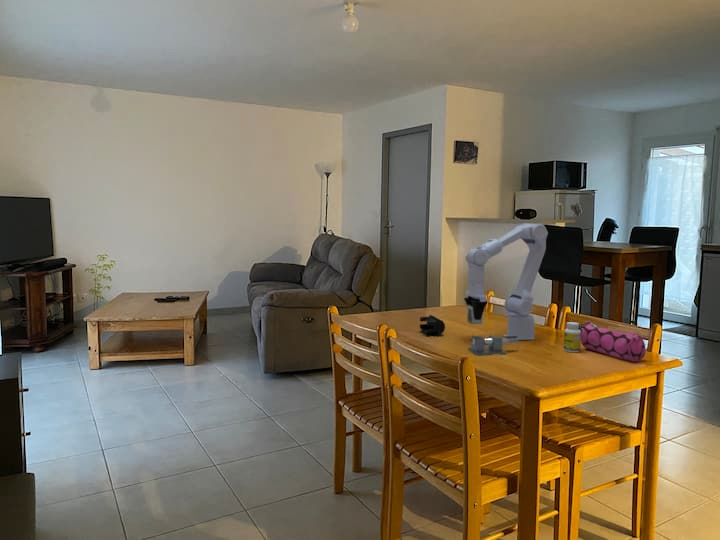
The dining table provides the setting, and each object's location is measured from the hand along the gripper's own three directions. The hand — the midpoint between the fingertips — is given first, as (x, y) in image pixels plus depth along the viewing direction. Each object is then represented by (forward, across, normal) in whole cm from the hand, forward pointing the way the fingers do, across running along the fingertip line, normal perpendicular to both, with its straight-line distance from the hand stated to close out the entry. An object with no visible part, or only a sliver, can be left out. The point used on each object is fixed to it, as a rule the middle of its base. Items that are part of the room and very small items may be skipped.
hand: (475, 318), depth 201 cm
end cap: (+9, -15, -12) cm, 21 cm away
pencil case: (+9, +25, +39) cm, 47 cm away
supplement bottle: (+9, +18, +28) cm, 35 cm away
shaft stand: (+9, +15, +1) cm, 18 cm away
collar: (+2, 0, 0) cm, 2 cm away
